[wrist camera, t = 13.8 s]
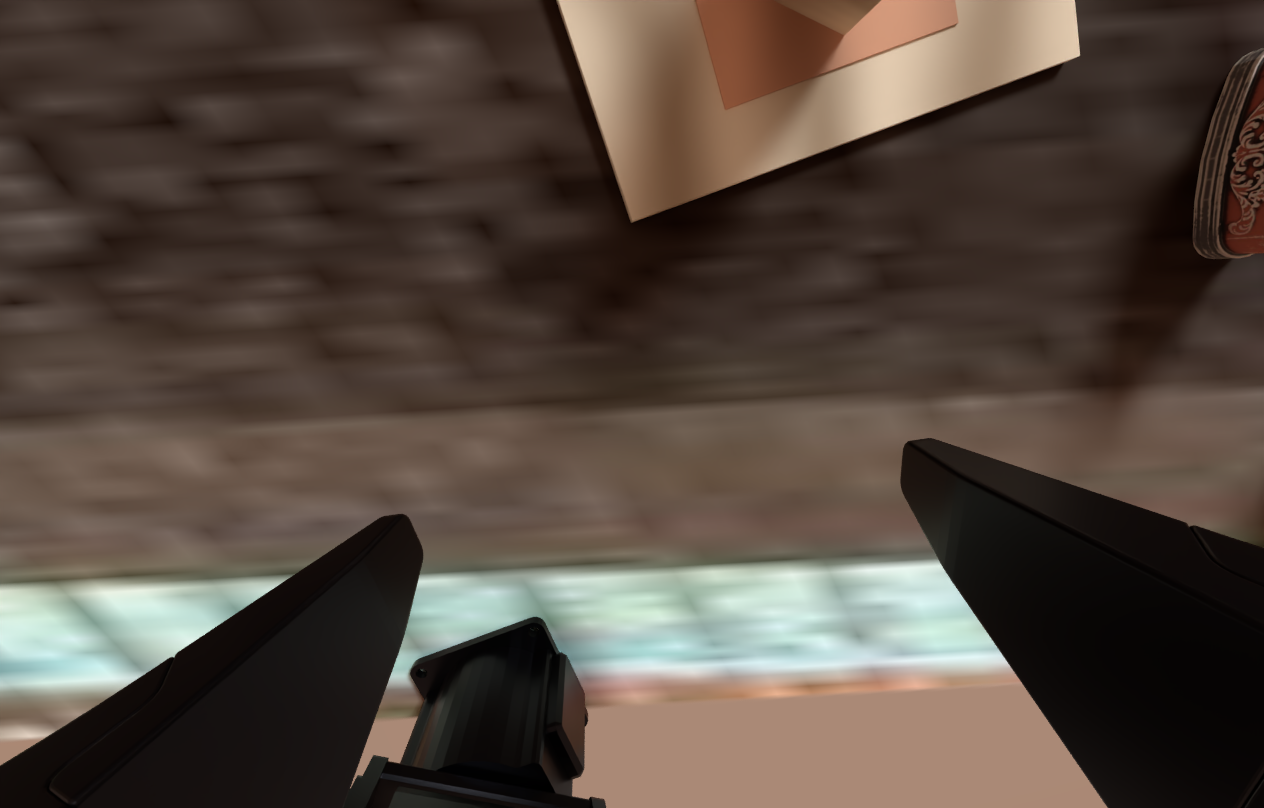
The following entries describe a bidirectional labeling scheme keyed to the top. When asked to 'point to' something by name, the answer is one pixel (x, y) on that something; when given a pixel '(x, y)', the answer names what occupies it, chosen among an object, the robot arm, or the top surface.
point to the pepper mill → (833, 11)
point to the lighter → (1233, 168)
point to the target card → (785, 79)
